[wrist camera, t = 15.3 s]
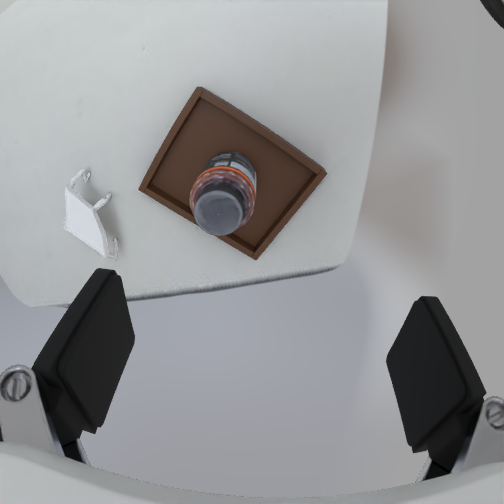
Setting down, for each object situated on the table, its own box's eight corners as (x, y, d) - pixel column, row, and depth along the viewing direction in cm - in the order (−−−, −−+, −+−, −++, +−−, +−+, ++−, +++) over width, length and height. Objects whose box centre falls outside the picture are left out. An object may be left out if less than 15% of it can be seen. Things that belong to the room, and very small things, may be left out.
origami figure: (59, 199, 37) (39, 214, 32) (91, 161, 34) (71, 173, 30) (112, 260, 41) (98, 279, 37) (149, 229, 39) (136, 248, 35)
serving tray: (323, 168, 34) (327, 173, 32) (256, 251, 40) (256, 260, 38) (201, 86, 30) (197, 86, 28) (144, 183, 36) (137, 189, 34)
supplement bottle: (224, 208, 36) (209, 259, 27) (194, 168, 34) (165, 205, 24) (267, 181, 34) (268, 225, 25) (237, 139, 32) (225, 164, 22)
